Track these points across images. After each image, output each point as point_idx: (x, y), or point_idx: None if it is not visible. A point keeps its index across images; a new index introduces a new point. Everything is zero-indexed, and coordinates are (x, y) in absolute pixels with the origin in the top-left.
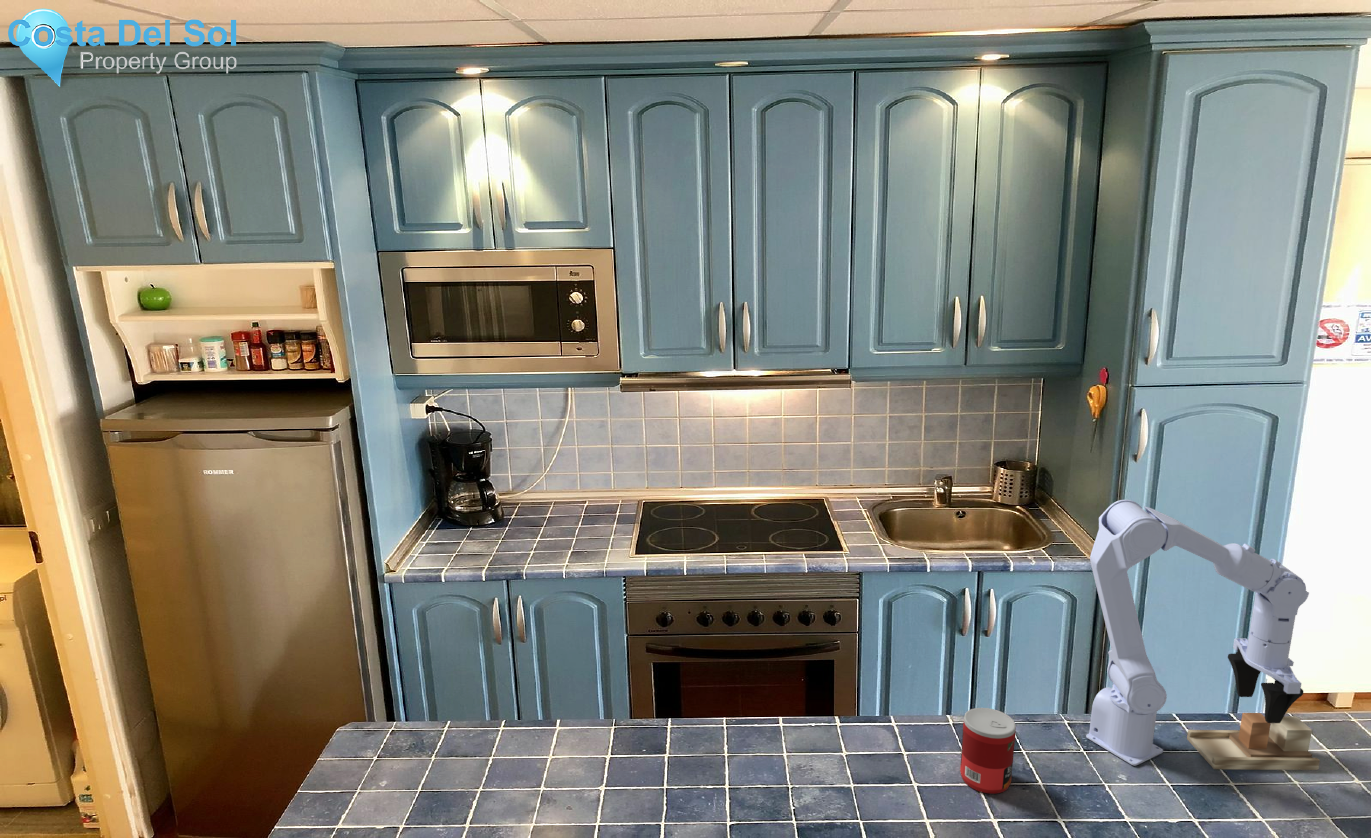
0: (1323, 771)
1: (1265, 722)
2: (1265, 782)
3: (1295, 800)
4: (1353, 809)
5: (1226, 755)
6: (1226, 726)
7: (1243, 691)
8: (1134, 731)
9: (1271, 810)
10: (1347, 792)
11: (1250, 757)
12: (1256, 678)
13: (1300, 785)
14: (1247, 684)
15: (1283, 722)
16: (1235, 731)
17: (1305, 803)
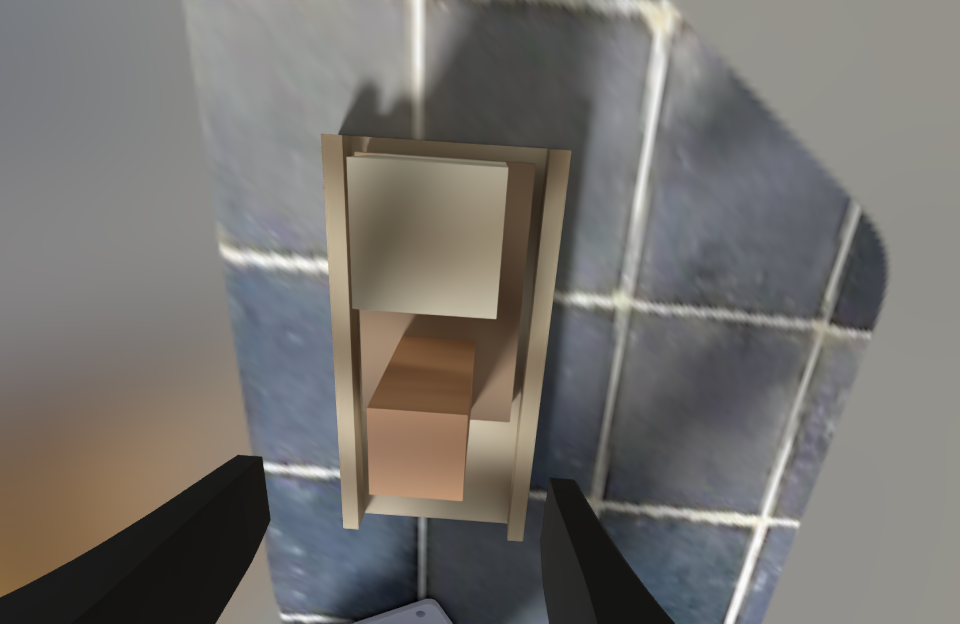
0: (575, 131)
1: (464, 440)
2: (606, 404)
3: (713, 372)
4: (815, 197)
5: (473, 463)
6: (258, 325)
7: (245, 539)
8: None
9: (737, 473)
10: (721, 135)
11: (522, 429)
12: (147, 569)
13: (643, 297)
14: (203, 568)
15: (417, 288)
16: (345, 378)
17: (736, 350)
